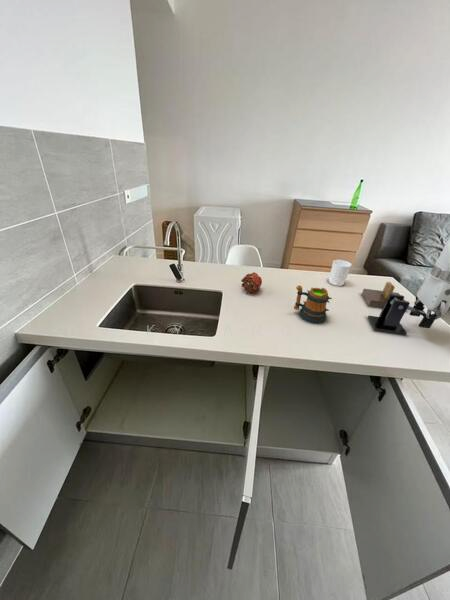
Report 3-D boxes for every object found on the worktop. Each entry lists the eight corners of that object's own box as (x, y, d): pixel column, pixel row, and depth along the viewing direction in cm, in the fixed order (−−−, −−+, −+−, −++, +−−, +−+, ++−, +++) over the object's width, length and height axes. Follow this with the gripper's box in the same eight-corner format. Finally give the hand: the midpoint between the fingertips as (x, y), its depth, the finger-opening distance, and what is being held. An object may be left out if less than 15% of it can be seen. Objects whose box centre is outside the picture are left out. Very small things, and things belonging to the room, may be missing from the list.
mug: (325, 311, 94) (333, 284, 88) (327, 326, 85) (337, 298, 79) (291, 305, 96) (296, 279, 90) (290, 319, 88) (296, 291, 82)
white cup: (347, 286, 112) (354, 266, 107) (331, 286, 112) (337, 266, 107) (340, 279, 119) (346, 260, 114) (324, 278, 119) (330, 259, 113)
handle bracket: (395, 322, 90) (410, 294, 84) (405, 335, 83) (421, 306, 77) (367, 317, 91) (379, 290, 85) (374, 331, 84) (387, 302, 78)
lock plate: (395, 298, 105) (398, 292, 103) (405, 311, 96) (409, 304, 95) (361, 294, 107) (363, 288, 105) (368, 306, 98) (371, 299, 97)
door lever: (418, 312, 85) (423, 307, 84) (427, 322, 80) (433, 317, 79) (387, 299, 85) (392, 294, 84) (394, 308, 80) (399, 303, 79)
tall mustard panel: (381, 293, 102) (386, 281, 99) (385, 293, 102) (390, 281, 99) (385, 298, 98) (391, 286, 95) (389, 299, 98) (395, 286, 95)
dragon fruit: (249, 300, 101) (248, 290, 112) (267, 290, 98) (264, 281, 109) (238, 284, 98) (238, 275, 109) (256, 273, 96) (255, 265, 107)
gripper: (480, 288, 66) (445, 339, 76) (443, 264, 81) (418, 309, 90) (449, 285, 67) (419, 335, 77) (419, 261, 82) (396, 306, 91)
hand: (419, 320), depth 84 cm, fingers open, 6 cm apart
